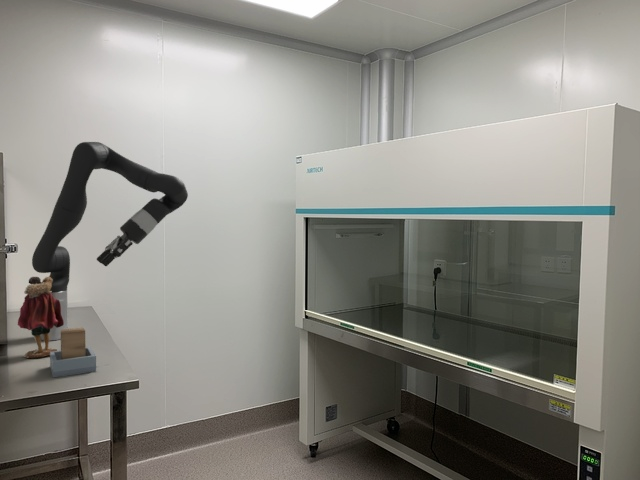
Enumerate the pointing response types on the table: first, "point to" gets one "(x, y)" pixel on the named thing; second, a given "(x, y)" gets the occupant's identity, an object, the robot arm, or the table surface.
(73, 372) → the open box
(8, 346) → the table surface
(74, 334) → the tan wooden block
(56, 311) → the figurine
